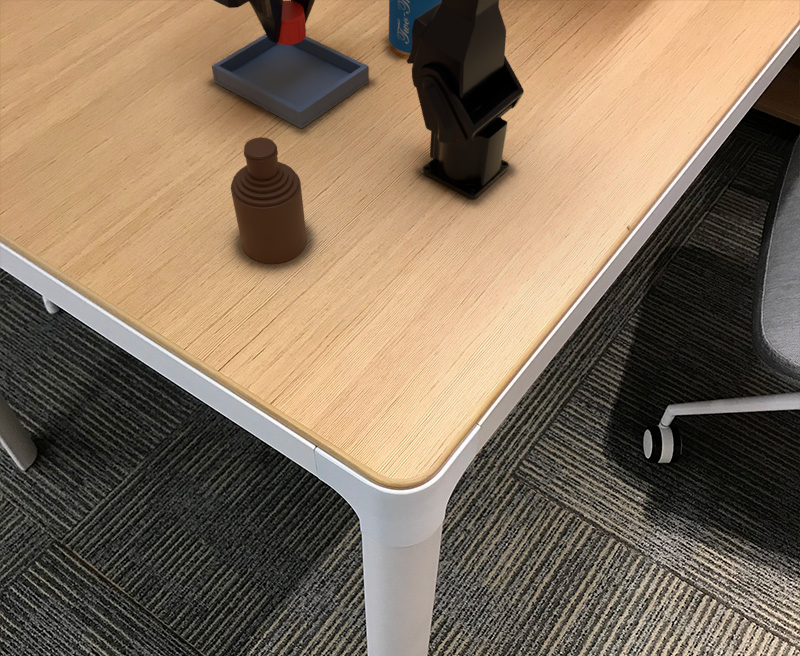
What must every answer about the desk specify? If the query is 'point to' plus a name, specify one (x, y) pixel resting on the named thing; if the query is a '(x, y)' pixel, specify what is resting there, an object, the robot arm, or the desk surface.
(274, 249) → the bottle
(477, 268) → the desk surface
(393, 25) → the beverage can
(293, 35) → the cap
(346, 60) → the tray
